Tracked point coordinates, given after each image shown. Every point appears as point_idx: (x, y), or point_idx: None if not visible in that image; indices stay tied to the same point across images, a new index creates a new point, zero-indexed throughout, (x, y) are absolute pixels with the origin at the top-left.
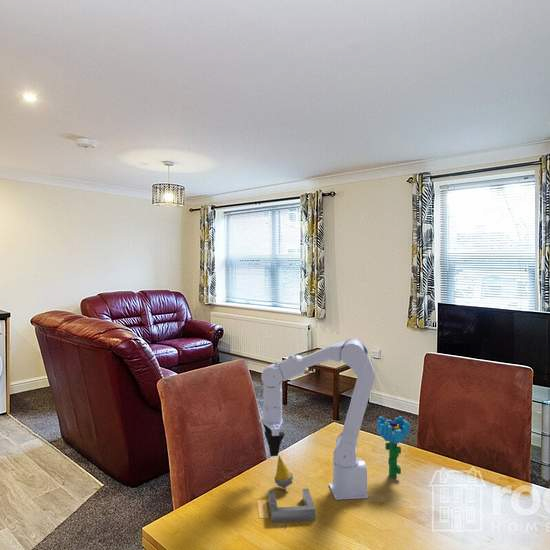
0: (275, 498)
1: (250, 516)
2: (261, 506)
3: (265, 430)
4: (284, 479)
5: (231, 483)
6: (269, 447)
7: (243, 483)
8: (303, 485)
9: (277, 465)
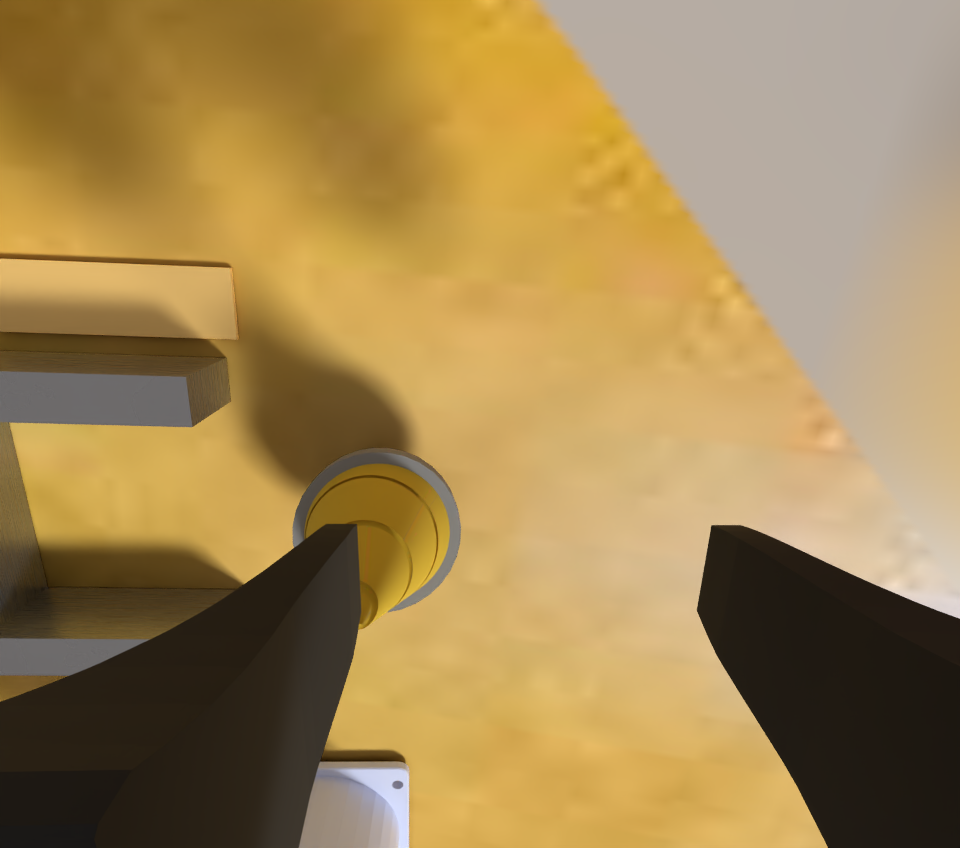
0: (58, 421)
1: (10, 188)
2: (139, 293)
3: (906, 643)
4: (304, 538)
5: (531, 37)
6: (235, 590)
7: (513, 164)
8: (424, 621)
9: (366, 537)
